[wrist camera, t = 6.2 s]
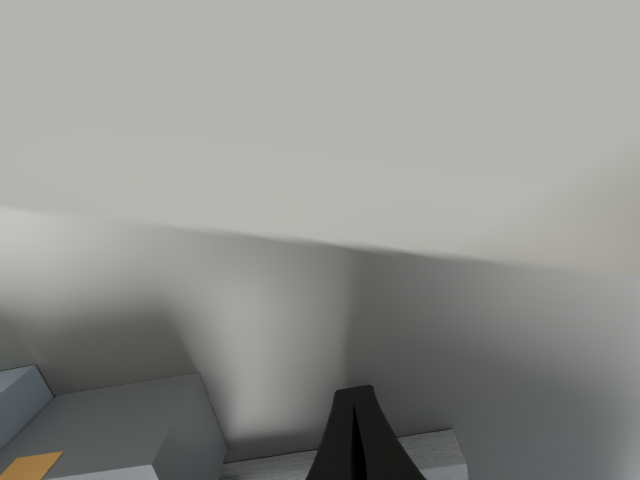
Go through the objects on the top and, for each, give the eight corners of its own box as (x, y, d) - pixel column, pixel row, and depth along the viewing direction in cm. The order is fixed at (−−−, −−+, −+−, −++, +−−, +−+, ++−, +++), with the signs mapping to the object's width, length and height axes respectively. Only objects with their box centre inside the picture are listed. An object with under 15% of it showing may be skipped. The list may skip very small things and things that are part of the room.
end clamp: (35, 364, 13) (-73, 452, 10) (102, 482, 15) (32, 591, 12) (-11, 373, 14) (-134, 462, 10) (60, 488, 15) (-20, 598, 12)
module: (199, 368, 14) (149, 466, 10) (228, 446, 15) (194, 561, 11) (59, 391, 14) (-44, 493, 10) (99, 465, 15) (21, 581, 11)
